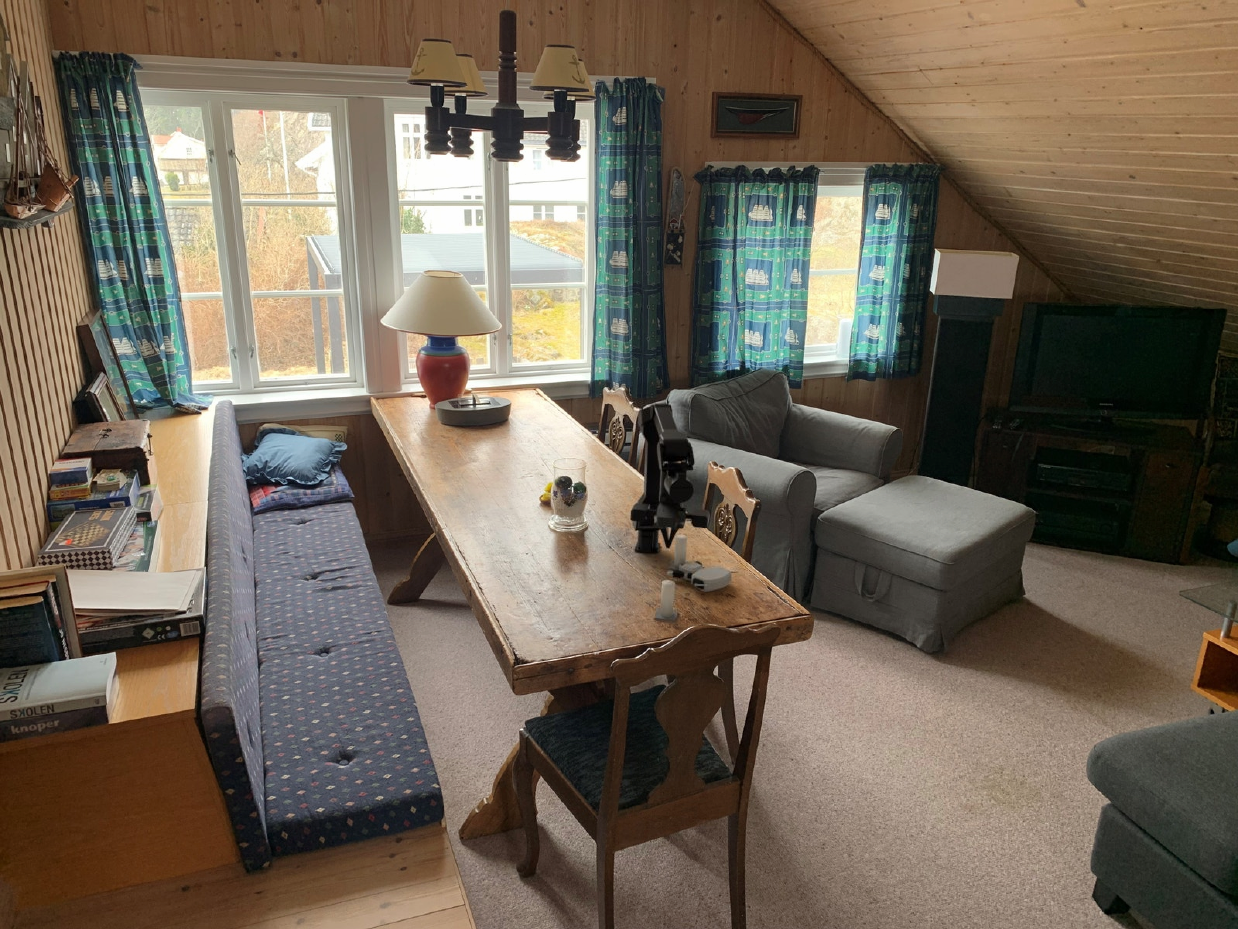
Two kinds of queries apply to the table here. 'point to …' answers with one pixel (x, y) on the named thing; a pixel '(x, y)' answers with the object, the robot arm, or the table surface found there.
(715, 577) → the robot toy
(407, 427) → the table surface
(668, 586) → the pair of white pegs
